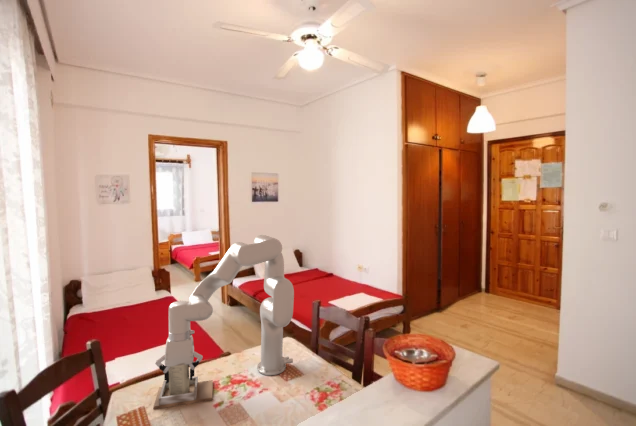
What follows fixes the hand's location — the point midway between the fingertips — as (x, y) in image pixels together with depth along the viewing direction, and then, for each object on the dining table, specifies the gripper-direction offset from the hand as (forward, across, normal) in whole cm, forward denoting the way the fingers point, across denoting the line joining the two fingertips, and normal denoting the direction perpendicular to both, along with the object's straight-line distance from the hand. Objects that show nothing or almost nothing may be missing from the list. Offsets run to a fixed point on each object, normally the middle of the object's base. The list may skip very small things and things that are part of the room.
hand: (179, 379), depth 125 cm
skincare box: (+6, 0, 0) cm, 6 cm away
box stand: (+6, -2, 0) cm, 7 cm away
